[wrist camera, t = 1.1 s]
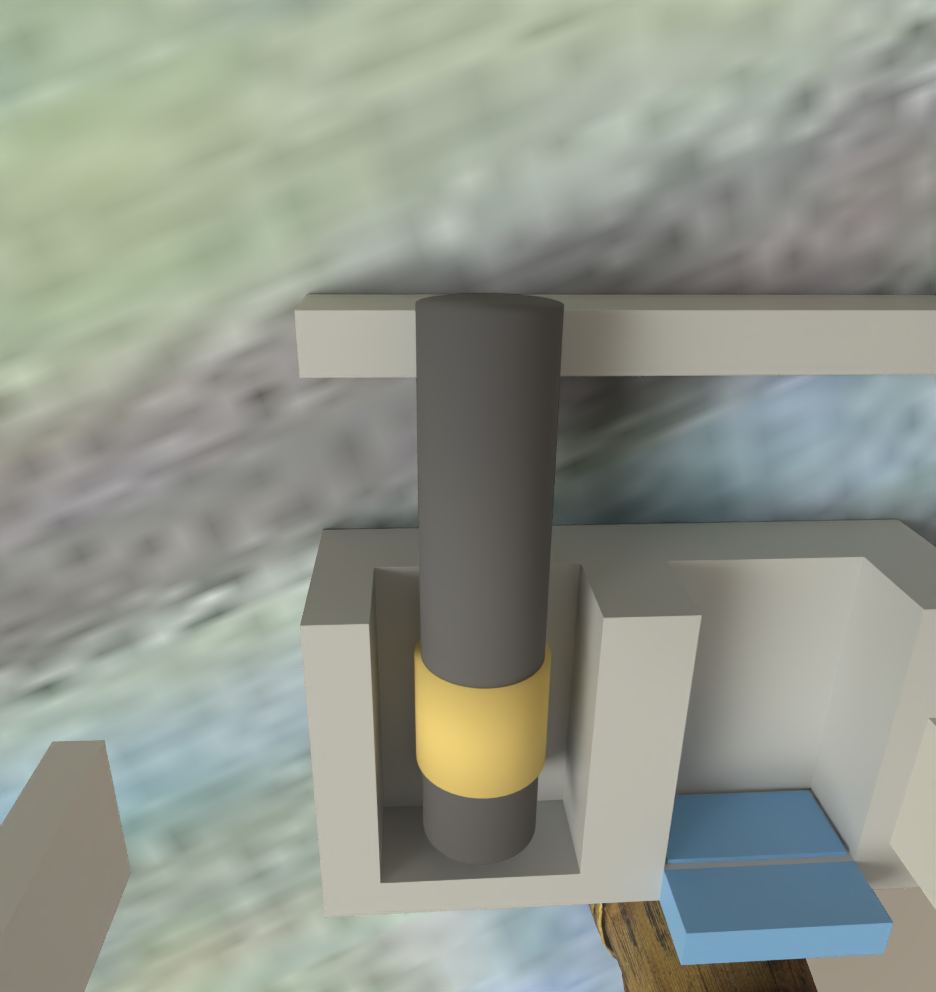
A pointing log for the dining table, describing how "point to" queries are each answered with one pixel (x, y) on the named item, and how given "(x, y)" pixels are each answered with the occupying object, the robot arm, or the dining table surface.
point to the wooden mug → (655, 964)
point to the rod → (484, 564)
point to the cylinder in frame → (652, 665)
